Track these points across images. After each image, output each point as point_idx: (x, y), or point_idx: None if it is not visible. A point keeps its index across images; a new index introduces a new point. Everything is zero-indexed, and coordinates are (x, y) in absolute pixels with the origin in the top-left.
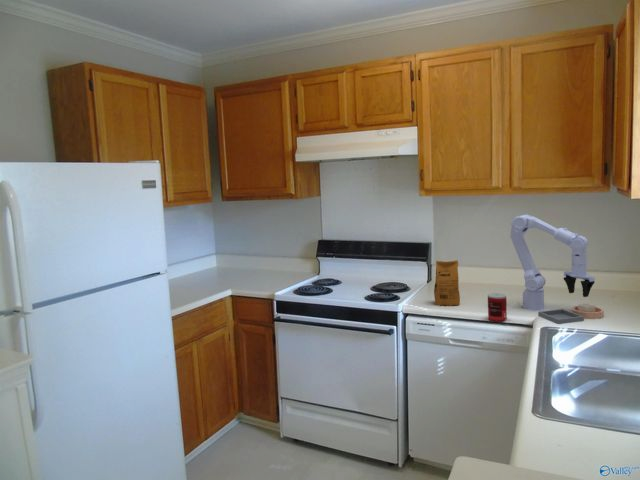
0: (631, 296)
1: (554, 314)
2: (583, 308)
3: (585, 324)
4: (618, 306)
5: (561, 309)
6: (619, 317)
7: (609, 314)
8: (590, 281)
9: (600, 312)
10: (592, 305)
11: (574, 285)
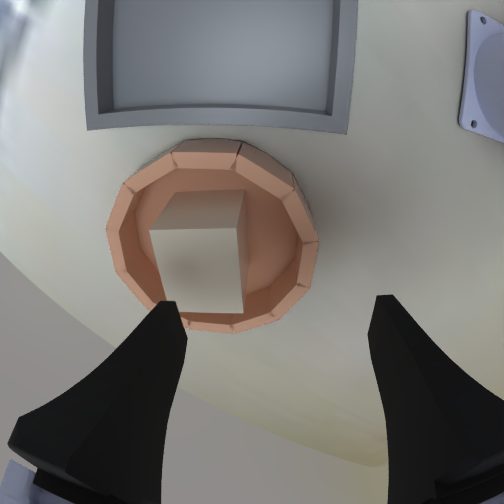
0: (348, 456)
1: (330, 38)
2: (178, 217)
3: (71, 103)
4: (293, 411)
5: (337, 110)
6: None
7: (206, 335)
8: (11, 461)
9: (115, 269)
10: (168, 293)
11: (385, 411)
